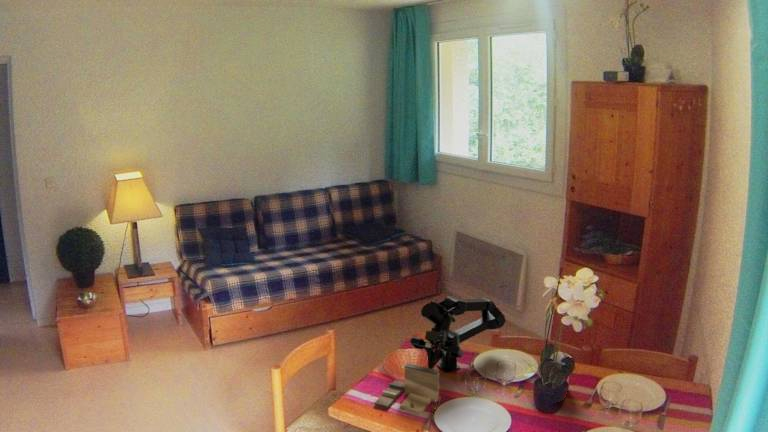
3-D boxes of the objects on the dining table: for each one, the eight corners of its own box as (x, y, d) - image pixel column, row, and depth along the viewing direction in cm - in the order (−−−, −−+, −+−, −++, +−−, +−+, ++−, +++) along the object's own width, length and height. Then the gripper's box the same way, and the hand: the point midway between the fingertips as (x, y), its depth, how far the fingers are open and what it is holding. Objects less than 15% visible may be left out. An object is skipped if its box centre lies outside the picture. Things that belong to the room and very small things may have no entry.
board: (394, 383, 221) (394, 377, 220) (407, 386, 219) (407, 380, 218) (374, 405, 207) (374, 400, 206) (387, 409, 205) (387, 403, 204)
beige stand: (407, 391, 215) (407, 363, 212) (439, 399, 210) (439, 370, 207) (394, 406, 206) (394, 377, 203) (427, 415, 201) (427, 385, 198)
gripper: (411, 316, 221) (398, 357, 215) (460, 325, 213) (448, 368, 206) (420, 327, 230) (408, 366, 223) (467, 336, 222) (456, 378, 215)
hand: (429, 369), depth 217 cm, fingers closed
